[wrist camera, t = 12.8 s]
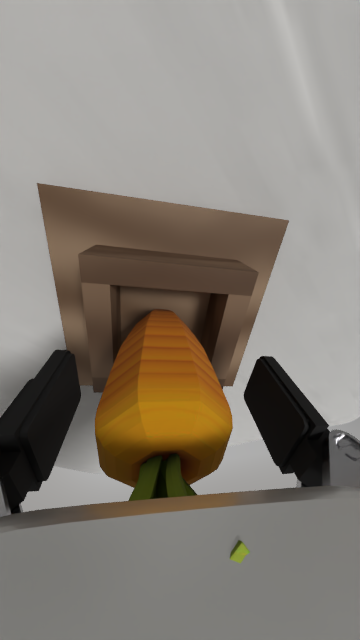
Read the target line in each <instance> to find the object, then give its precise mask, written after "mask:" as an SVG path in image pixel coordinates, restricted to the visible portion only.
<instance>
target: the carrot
mask: <svg viewBox="0 0 360 640" xmlns="http://www.w3.org/2000/svg"><path fill="white" fill-rule="evenodd" d="M232 428H233V426H232V415H231V411H230V407H229V404H228V402H227V400H226V397H225V395H224V393H223V390H222V388H221V385H220V383H219V381H218V378H217V376H216V374H215V371H214V369H213V367H212V365H211V363H210V361H209V359H208V356H207V354H206V352H205V350H204V348H203V347H202V345H201V344H200V342H199V341H198V340H197V338H196V337H195V335H194V334H193V333H192V332H191V330H190V329H189V328H188V327H187V325H186V324H185V323H184V322H183V321H182V320H181V319H180V318H179V317H178V316H177V315H176V314H175V313H174V312H173V311H171V310H165V309H154V310H152V311H151V312H150V313H149V314H148V315H146V316H145V317H144V318H143V319H142V320H140V321H139V322H138V323H137V324H136V325H135V326H134V328H133V329H132V330H131V332H130V333H129V335H128V336H127V338H126V339H125V341H124V342H123V344H122V345H121V347H120V350H119V352H118V354H117V357H116V359H115V362H114V364H113V367H112V369H111V372H110V374H109V377H108V380H107V383H106V386H105V388H104V391H103V394H102V397H101V400H100V402H99V405H98V408H97V412H96V417H95V435H96V442H97V449H98V456H99V463H100V467H101V468H102V470H103V471H104V472H105V474H106V475H107V476H108V477H111V478H113V479H115V480H118V481H120V482H122V483H124V484H127V485H129V486H131V487H134V490H133V492H132V494H131V496H130V499H129V501H135V500H147V499H158V498H170V497H183V496H195V495H197V494H196V493H195V492H194V490H193V489H192V488H191V487H190V484H192V483H194V482H196V481H198V480H199V479H201V478H203V477H205V476H207V475H209V474H210V473H212V472H214V471H215V470H217V468H218V467H219V465H220V463H221V461H222V459H223V456H224V453H225V450H226V447H227V444H228V441H229V438H230V434H231V431H232ZM249 553H250V551H249V550H248V548H247V547H246V546H245V544H244V543H243V542H242V541H240V540H238V542H237V543H236V545H235V547H234V548H233V550H232V551H231V554H230V560H233V561H235V562H238V563H240V564H241V562H242V561H243V559H244V558H245V556H246V555H247V554H249Z"/></svg>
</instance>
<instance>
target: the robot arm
mask: <svg viewBox="0 0 360 640" xmlns="http://www.w3.org/2000/svg"><path fill="white" fill-rule="evenodd" d="M80 398H81V391H80V385H79V378H78V372H77V366H76V359H75V355H74V354H71V352H70V351H69V350H55V351H54V352H53V354H52V355H51V356H50V358H49V359H48V361H47V362H46V363H45V365H44V366H43V367H42V369H41V370H40V371H39V373H38V374H37V376H36V377H35V378H34V379H31V380H29V381H28V382H27V384H26V385H25V386H24V387H23V389H22V390H21V391H20V393H19V394H18V395H17V397H16V398H15V399H14V401H13V402H12V403H11V405H10V406H9V407H8V409H7V410H6V411H5V413H4V414H3V415H2V416H1V418H0V640H360V441H359V440H358V439H357V438H355V437H354V436H352V435H350V434H349V433H346V432H344V431H341V430H332V431H331V432H330V431H329V430H328V429H327V427H328V426H329V425H328V424H327V422H326V421H325V420H324V419H323V417H322V416H321V415H320V414H319V413H318V411H317V410H316V409H315V408H314V406H313V405H312V404H311V403H310V402H309V400H308V399H307V398H306V397H305V395H304V394H303V393H302V392H301V390H300V389H299V388H298V387H297V386H296V384H295V383H294V382H293V381H292V379H291V378H290V377H289V376H288V375H287V373H286V372H285V371H284V370H283V368H282V367H281V366H280V365H279V363H278V362H277V361H276V360H275V359H274V358H273V357H269V356H261V357H260V358H259V359H257V361H256V364H255V366H254V369H253V371H252V374H251V376H250V379H249V382H248V384H247V387H246V389H245V392H244V400H245V402H246V404H247V406H248V408H249V410H250V412H251V415H252V417H253V419H254V421H255V423H256V425H257V427H258V429H259V431H260V434H261V436H262V438H263V440H264V442H265V444H266V446H267V448H268V450H269V452H270V455H271V457H272V459H273V461H274V463H275V464H276V465H277V466H279V468H280V470H281V472H282V474H287V473H295V475H296V476H297V486H296V488H284V489H272V490H259V491H245V492H232V493H219V494H207V495H195V496H183V497H170V498H158V499H147V500H135V501H124V502H113V503H101V504H90V505H81V506H71V507H62V508H52V509H43V510H35V511H29V512H23V510H22V506H21V502H22V501H24V499H25V497H26V494H27V492H29V491H39V489H40V486H41V484H42V481H46V480H47V479H48V477H49V475H50V473H51V471H52V468H53V466H54V463H55V461H56V458H57V456H58V453H59V451H60V448H61V446H62V444H63V441H64V439H65V436H66V434H67V431H68V429H69V426H70V424H71V421H72V419H73V416H74V414H75V411H76V409H77V406H78V404H79V402H80ZM238 540H240V541H242V542H243V543H244V544H245V546H246V547H247V548H248V550H249V551H250V553H249V554H247V555H246V556H245V558H244V559H243V561H242V562H241V564H240V563H238V562H235V561H233V560H230V554H231V551H232V550H233V548H234V547H235V545H236V543H237V542H238Z"/></svg>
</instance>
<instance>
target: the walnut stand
mask: <svg viewBox="0 0 360 640" xmlns="http://www.w3.org/2000/svg"><path fill="white" fill-rule="evenodd" d="M37 186H38V191H39V197H40V202H41V208H42V214H43V219H44V225H45V230H46V236H47V241H48V247H49V253H50V258H51V264H52V269H53V275H54V280H55V286H56V292H57V297H58V303H59V308H60V314H61V319H62V325H63V331H64V336H65V342H66V347H67V350H69V351H70V352H71V354H74V355H75V359H76V366H77V372H78V378H79V385H93V389H94V392H103V391H104V388H105V386H106V383H107V380H108V377H109V374H110V372H111V369H112V367H113V364H114V362H115V359H116V357H117V354H118V352H119V350H120V347H121V345H122V344H123V342H124V341H125V339H126V338H127V336H128V335H129V333H130V332H131V330H132V329H133V328H134V326H135V325H136V324H137V323H138V322H139V321H140V320H142V319H143V318H144V317H145V316H146V315H148V314H149V313H150V312H151V311H152V310H154V309H165V310H171V311H173V312H174V313H175V314H176V315H177V316H178V317H179V318H180V319H181V320H182V321H183V322H184V323H185V324H186V325H187V327H188V328H189V329H190V330H191V332H192V333H193V334H194V335H195V337H196V338H197V340H198V341H199V342H200V344H201V345H202V347H203V348H204V350H205V352H206V354H207V356H208V359H209V361H210V363H211V365H212V367H213V369H214V371H215V374H216V376H217V378H218V381H219V383H220V385H221V388H222V389H223V386H233V383H234V380H235V378H236V375H237V372H238V369H239V366H240V363H241V360H242V357H243V354H244V351H245V348H246V345H247V342H248V339H249V336H250V334H251V331H252V328H253V325H254V322H255V319H256V316H257V313H258V310H259V307H260V304H261V301H262V298H263V295H264V292H265V290H266V287H267V284H268V281H269V278H270V275H271V272H272V269H273V266H274V263H275V260H276V257H277V254H278V251H279V248H280V245H281V243H282V240H283V237H284V234H285V231H286V228H287V225H288V222H289V220H282V219H275V218H269V217H262V216H255V215H248V214H242V213H235V212H228V211H221V210H215V209H208V208H201V207H194V206H188V205H181V204H174V203H167V202H161V201H154V200H147V199H140V198H134V197H127V196H120V195H113V194H107V193H100V192H93V191H86V190H80V189H73V188H66V187H59V186H53V185H46V184H39V183H37Z"/></svg>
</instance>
